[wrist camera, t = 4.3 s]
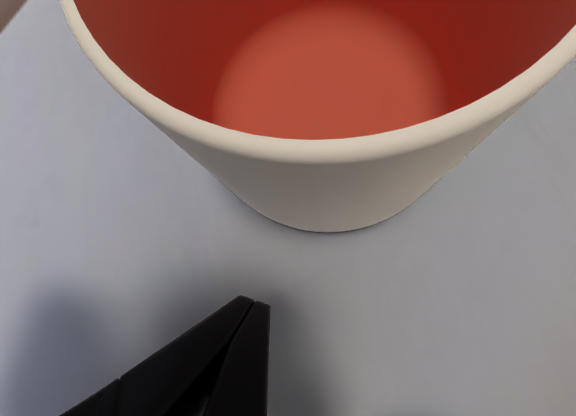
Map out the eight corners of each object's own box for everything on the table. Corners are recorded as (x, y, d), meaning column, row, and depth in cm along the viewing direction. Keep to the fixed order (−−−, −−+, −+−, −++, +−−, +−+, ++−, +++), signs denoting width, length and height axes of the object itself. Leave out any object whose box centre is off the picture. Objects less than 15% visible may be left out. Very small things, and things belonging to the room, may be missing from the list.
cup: (225, 23, 17) (88, -303, 8) (444, 15, 16) (618, -386, 6) (206, 232, 16) (-4, 156, 6) (451, 240, 14) (710, 163, 5)
